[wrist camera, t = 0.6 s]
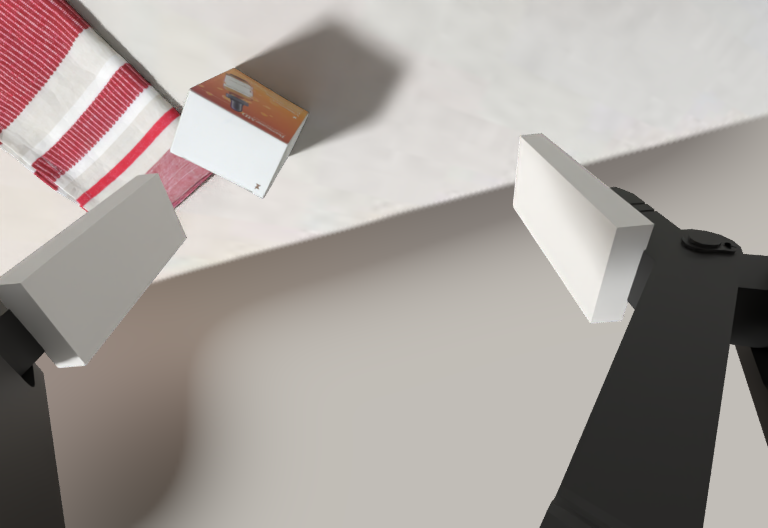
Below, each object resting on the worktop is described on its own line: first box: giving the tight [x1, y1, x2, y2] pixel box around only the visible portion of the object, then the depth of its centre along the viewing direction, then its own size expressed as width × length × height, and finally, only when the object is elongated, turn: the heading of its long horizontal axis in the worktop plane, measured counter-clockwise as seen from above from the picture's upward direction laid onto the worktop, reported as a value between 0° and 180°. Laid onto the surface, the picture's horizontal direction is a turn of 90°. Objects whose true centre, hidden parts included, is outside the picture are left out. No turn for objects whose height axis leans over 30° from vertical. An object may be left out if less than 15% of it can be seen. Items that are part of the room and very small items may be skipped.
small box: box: [170, 68, 309, 199], centre depth 34 cm, size 8×6×10 cm
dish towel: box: [0, 0, 212, 212], centre depth 38 cm, size 17×24×3 cm
